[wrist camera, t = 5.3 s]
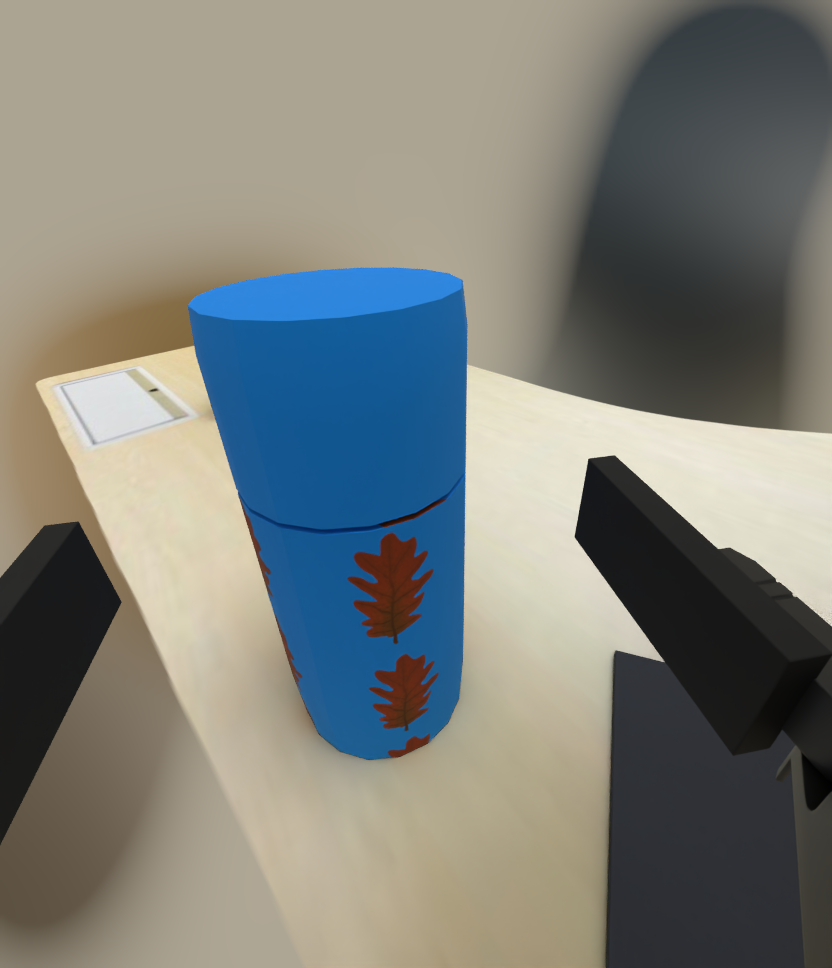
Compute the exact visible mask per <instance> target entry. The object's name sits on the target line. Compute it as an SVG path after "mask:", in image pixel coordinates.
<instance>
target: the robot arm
mask: <svg viewBox="0 0 832 968" xmlns="http://www.w3.org/2000/svg"><path fill="white" fill-rule="evenodd" d="M575 538H576V540H577V541H578V543H579V544H580V545H581V547H582V548H583V549H584V551H585V552H586V554H587V555H588V556H589V558H590V559H591V560H592V562H593V563H594V565H595V566H596V567H597V569H598V570H599V572H600V573H601V574H602V576H603V577H604V578H605V580H606V581H607V583H608V584H609V585H610V587H611V588H612V589H613V591H614V592H615V594H616V595H617V596H618V598H619V599H620V601H621V602H622V603H623V605H624V606H625V607H626V609H627V610H628V612H629V613H630V614H631V616H632V617H633V618H634V620H635V621H636V623H637V624H638V625H639V627H640V628H641V630H642V631H643V632H644V634H645V635H646V636H647V638H648V639H649V641H650V642H651V643H652V645H653V646H654V647H655V649H656V650H657V652H658V653H659V654H660V656H661V657H662V658H663V660H664V661H665V663H666V664H667V665H668V667H669V668H670V670H671V671H672V672H673V674H674V675H675V676H676V678H677V679H678V681H679V682H680V683H681V685H682V686H683V687H684V689H685V690H686V692H687V693H688V694H689V696H690V697H691V699H692V700H693V701H694V703H695V704H696V705H697V707H698V708H699V710H700V711H701V712H702V714H703V715H704V716H705V718H706V719H707V721H708V722H709V723H710V725H711V726H712V728H713V729H714V730H715V732H716V733H717V734H718V736H719V737H720V739H721V740H722V741H723V743H724V744H725V745H726V747H727V748H728V750H729V751H730V752H731V754H732V755H733V756H735V755H740V754H745V753H749V752H754V751H759V750H764V749H769V748H770V747H771V746H772V744H773V743H774V741H775V740H776V738H777V737H778V735H779V734H780V732H781V731H782V730H783V731H784V732H785V733H786V734H787V736H788V737H789V738H790V739H791V740H792V741H793V743H794V744H795V746H794V748H793V749H792V751H791V752H790V753H789V755H788V756H787V758H786V759H785V760H784V762H783V763H782V764H781V766H780V767H779V769H778V771H777V775H776V779H775V780H777V781H779V782H782V783H783V781H784V780H785V779H786V777H787V776H788V775H789V773H790V772H791V771H792V785H793V800H794V815H795V830H796V845H797V860H798V875H799V890H800V905H801V920H802V934H803V949H804V964H805V968H832V627H831V626H830V625H829V624H828V623H827V622H826V621H824V620H823V619H822V618H821V617H820V616H819V615H817V614H816V613H815V612H814V611H813V610H812V609H810V608H809V607H808V606H807V605H806V604H805V603H803V602H802V601H801V600H800V599H799V598H798V597H793V595H792V594H793V593H792V592H791V591H789V590H788V589H787V588H786V587H785V586H784V585H782V584H781V583H780V582H778V583H777V582H776V579H775V578H774V577H773V576H772V575H771V574H770V573H768V572H767V571H766V570H765V569H764V568H763V567H761V566H760V565H759V564H758V563H757V562H756V561H754V560H752V559H750V558H748V557H746V556H744V555H742V554H741V553H739V552H737V551H735V550H733V549H731V548H724V549H717V548H716V547H715V546H714V545H713V544H712V543H711V542H710V541H708V540H707V539H706V538H705V537H704V536H703V535H702V534H701V533H700V532H699V531H697V530H696V529H695V528H694V527H693V526H692V525H691V524H690V523H689V522H688V521H686V520H685V519H684V518H683V517H682V516H681V515H680V514H679V513H678V512H676V511H675V510H674V509H673V508H672V507H671V506H670V505H669V504H668V503H667V502H665V501H664V500H663V499H662V498H661V497H660V496H659V495H658V494H657V493H656V492H654V491H653V490H652V489H651V488H650V487H649V486H648V485H647V484H646V483H644V482H643V481H642V480H641V479H640V478H639V477H638V476H637V475H636V474H635V473H633V472H632V471H631V470H630V469H629V468H628V467H627V466H626V465H625V464H624V463H622V462H621V461H620V460H619V459H618V458H617V457H616V456H606V457H598V458H590V459H588V465H587V470H586V476H585V482H584V487H583V493H582V499H581V504H580V510H579V515H578V521H577V527H576V532H575ZM120 604H121V600H120V598H119V596H118V595H117V593H116V591H115V589H114V587H113V585H112V583H111V581H110V580H109V578H108V576H107V574H106V572H105V570H104V569H103V566H102V565H101V563H100V561H99V559H98V557H97V555H96V553H95V552H94V550H93V548H92V546H91V544H90V542H89V540H88V539H87V537H86V535H85V533H84V531H83V529H82V528H81V525H80V523H79V522H70V523H62V524H55V525H47V526H44V527H43V528H42V529H41V530H40V532H39V533H38V534H37V535H36V536H35V537H34V539H33V540H32V541H31V542H30V543H29V545H28V546H27V547H26V548H25V549H24V550H23V552H22V553H21V554H20V555H19V556H18V558H17V559H16V560H15V561H14V562H13V563H12V565H11V566H10V567H9V568H8V569H7V571H6V572H5V573H4V574H3V575H2V576H1V578H0V844H1V842H2V840H3V838H4V836H5V834H6V832H7V830H8V828H9V826H10V824H11V822H12V820H13V818H14V816H15V814H16V812H17V810H18V808H19V806H20V804H21V802H22V800H23V798H24V796H25V794H26V792H27V790H28V788H29V786H30V784H31V782H32V780H33V778H34V776H35V774H36V772H37V770H38V768H39V766H40V764H41V762H42V760H43V758H44V756H45V754H46V752H47V750H48V748H49V746H50V744H51V742H52V740H53V738H54V736H55V734H56V732H57V730H58V728H59V726H60V724H61V722H62V720H63V718H64V716H65V714H66V712H67V710H68V708H69V706H70V704H71V702H72V700H73V698H74V696H75V694H76V692H77V690H78V688H79V686H80V684H81V682H82V680H83V678H84V676H85V674H86V672H87V670H88V668H89V666H90V664H91V662H92V660H93V658H94V656H95V654H96V652H97V650H98V648H99V646H100V644H101V642H102V640H103V638H104V636H105V634H106V632H107V630H108V628H109V626H110V624H111V622H112V620H113V618H114V616H115V614H116V612H117V610H118V608H119V606H120Z"/></svg>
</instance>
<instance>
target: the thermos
mask: <svg viewBox="0 0 832 968" xmlns="http://www.w3.org/2000/svg"><path fill="white" fill-rule="evenodd" d="M188 310H189V316H190V321H191V328H192V333H193V340H194V346H195V352H196V357H197V360H198V363H199V366H200V370H201V373H202V376H203V380H204V383H205V386H206V390H207V393H208V396H209V400H210V403H211V406H212V409H213V413H214V416H215V419H216V423H217V426H218V429H219V433H220V436H221V439H222V442H223V446H224V449H225V452H226V456H227V459H228V462H229V466H230V469H231V472H232V475H233V479H234V482H235V485H236V489H237V490H238V495H239V499H240V502H241V505H242V509H243V512H244V515H245V518H246V522H247V525H248V528H249V532H250V535H251V538H252V542H253V545H254V548H255V551H256V555H257V558H258V561H259V565H260V568H261V571H262V575H263V578H264V581H265V585H266V588H267V591H268V594H269V598H270V601H271V604H272V608H273V611H274V614H275V618H276V621H277V624H278V627H279V631H280V634H281V637H282V641H283V644H284V647H285V651H286V654H287V657H288V661H289V664H290V667H291V670H292V674H293V677H294V679H295V682H296V684H297V687H298V689H299V692H300V694H301V696H302V699H303V701H304V704H305V706H306V709H307V711H308V713H309V715H310V717H311V719H312V721H313V723H314V725H315V727H316V729H317V731H318V733H319V735H320V736H322V737H323V738H324V739H325V740H327V741H328V742H329V743H330V744H332V745H333V746H334V747H335V748H336V749H338V750H339V751H340V752H344V753H347V754H351V755H354V756H358V757H361V758H364V759H368V760H370V759H381V758H392V757H400V756H402V755H404V754H406V753H409V752H411V751H413V750H415V749H417V748H419V747H421V746H423V745H426V744H428V743H429V741H430V740H431V739H432V738H433V737H434V736H435V735H436V734H437V733H438V732H439V731H440V730H441V729H442V728H443V727H444V726H445V725H446V724H447V723H448V722H449V719H450V717H451V715H452V713H453V710H454V708H455V706H456V704H457V701H458V699H459V692H460V682H461V672H462V662H463V625H464V546H465V467H466V388H467V318H466V308H465V300H464V290H463V281H462V280H461V279H459V278H457V277H455V276H453V275H451V274H448V273H442V272H436V271H430V270H423V269H408V268H350V269H332V270H318V271H309V272H300V273H291V274H282V275H276V276H270V277H264V278H258V279H252V280H246V281H242V282H238V283H234V284H230V285H226V286H222V287H218V288H215V289H213V290H210V291H208V292H206V293H203V294H200V295H198V296H196V297H195V298H194V299H193V300H192V301H191V302H190V304H189V305H188Z"/></svg>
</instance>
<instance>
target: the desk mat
mask: <svg viewBox="0 0 832 968" xmlns="http://www.w3.org/2000/svg"><path fill="white" fill-rule="evenodd" d="M794 746H795V744H794V743H793V741H792V740H791V739H790V738H789V737H788V736H787V734H786V733H785V732H784V731H783V730H782V731H781V732H780V734H779V735H778V737H777V738H776V740H775V741H774V743H773V744H772V746H771V747H770V748H769V749H764V750H759V751H754V752H749V753H745V754H740V755H735V756H733V755H732V754H731V752H730V751H729V750H728V748H727V747H726V745H725V744H724V743H723V741H722V740H721V739H720V737H719V736H718V734H717V733H716V732H715V730H714V729H713V728H712V726H711V725H710V723H709V722H708V721H707V719H706V718H705V716H704V715H703V714H702V712H701V711H700V710H699V708H698V707H697V705H696V704H695V703H694V701H693V700H692V699H691V697H690V696H689V694H688V693H687V692H686V690H685V689H684V687H683V686H682V685H681V683H680V682H679V681H678V679H677V678H676V676H675V675H674V674H673V672H672V671H671V670H670V668H669V667H668V665H667V664H666V663H664V662H660V661H656V660H652V659H648V658H644V657H640V656H636V655H632V654H628V653H624V652H620V651H615V654H614V673H613V712H612V750H611V789H610V828H609V867H608V905H607V944H606V968H805V964H804V949H803V934H802V920H801V905H800V890H799V875H798V860H797V845H796V830H795V815H794V800H793V785H792V771H791V772H790V773H789V775H788V776H787V777H786V779H785V780H784V781H783V783H782V782H779V781H777V780H775V779H776V775H777V771H778V769H779V767H780V766H781V764H782V763H783V762H784V760H785V759H786V758H787V756H788V755H789V753H790V752H791V751H792V749H793V748H794Z"/></svg>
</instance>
